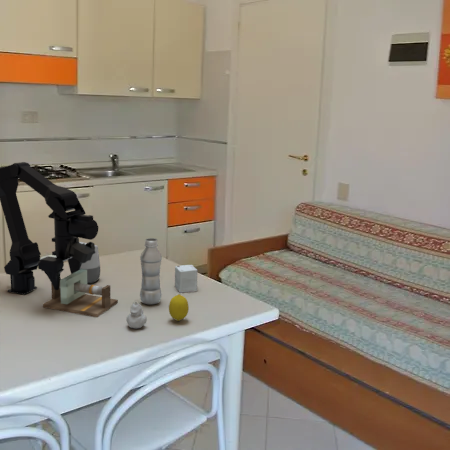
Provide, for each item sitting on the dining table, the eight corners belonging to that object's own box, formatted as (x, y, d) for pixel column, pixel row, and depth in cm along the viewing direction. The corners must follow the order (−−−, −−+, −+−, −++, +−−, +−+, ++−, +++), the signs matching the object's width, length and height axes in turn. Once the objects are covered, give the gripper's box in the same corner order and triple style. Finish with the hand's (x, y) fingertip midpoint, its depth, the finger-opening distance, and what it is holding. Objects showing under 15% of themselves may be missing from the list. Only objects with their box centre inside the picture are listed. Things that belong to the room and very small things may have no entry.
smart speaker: (106, 280, 190) (106, 240, 186) (86, 287, 182) (85, 246, 179) (86, 274, 195) (85, 235, 191) (65, 281, 187) (64, 240, 184)
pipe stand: (42, 307, 165) (42, 284, 163) (66, 293, 176) (65, 272, 174) (97, 317, 160) (96, 294, 158) (117, 302, 171) (117, 281, 169)
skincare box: (197, 291, 184) (198, 269, 182) (179, 293, 181) (180, 271, 180) (191, 285, 189) (192, 264, 187) (174, 286, 187) (174, 265, 185)
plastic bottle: (165, 301, 174) (166, 238, 169) (153, 308, 168) (154, 244, 163) (147, 297, 176) (148, 235, 171) (135, 304, 170) (135, 240, 165)
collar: (60, 303, 163) (60, 279, 162) (81, 291, 173) (81, 268, 172) (66, 304, 163) (66, 280, 161) (87, 292, 173) (87, 269, 171)
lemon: (180, 326, 156) (181, 299, 154) (164, 321, 159) (165, 295, 157) (192, 320, 161) (192, 293, 159) (176, 315, 163) (177, 289, 161)
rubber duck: (122, 329, 152) (122, 302, 150) (132, 320, 159) (132, 293, 157) (141, 332, 151) (141, 304, 149) (150, 323, 157) (150, 296, 156)
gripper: (70, 245, 153) (71, 299, 157) (105, 230, 171) (106, 279, 174) (35, 240, 157) (37, 293, 160) (73, 226, 174) (74, 274, 178)
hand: (66, 284), depth 168 cm, fingers open, 9 cm apart
